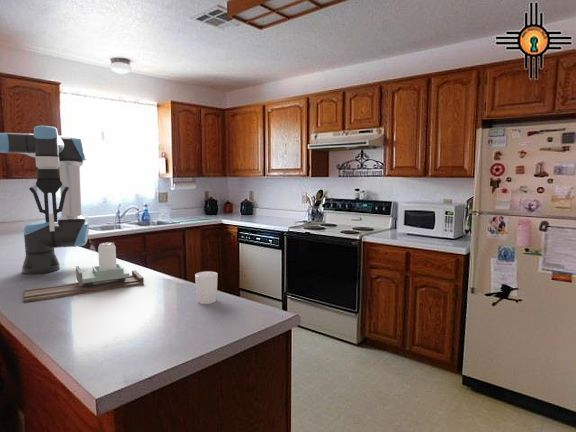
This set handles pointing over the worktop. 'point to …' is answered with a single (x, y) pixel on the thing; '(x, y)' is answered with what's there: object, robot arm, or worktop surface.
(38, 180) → the robot arm
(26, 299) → the track
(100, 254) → the can
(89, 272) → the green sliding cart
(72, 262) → the worktop surface
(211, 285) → the white cup
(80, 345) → the worktop surface
